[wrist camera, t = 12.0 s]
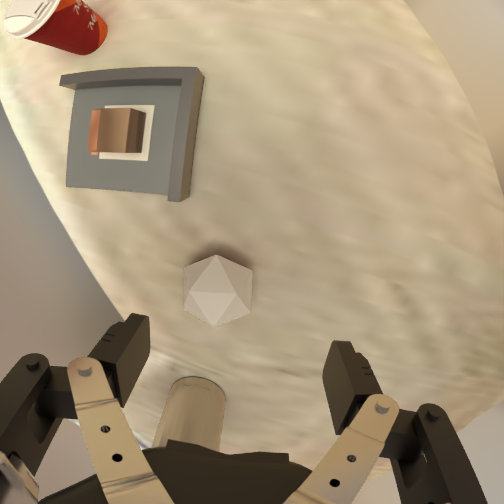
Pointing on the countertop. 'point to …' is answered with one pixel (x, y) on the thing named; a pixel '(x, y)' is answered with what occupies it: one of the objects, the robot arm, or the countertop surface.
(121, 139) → the walnut block
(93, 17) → the coffee cup
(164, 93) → the board
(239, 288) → the die
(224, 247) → the countertop surface
